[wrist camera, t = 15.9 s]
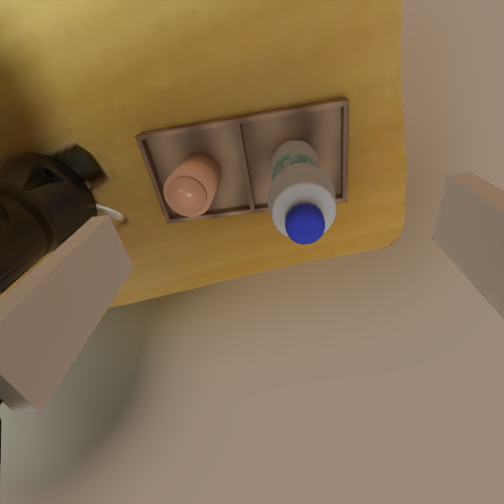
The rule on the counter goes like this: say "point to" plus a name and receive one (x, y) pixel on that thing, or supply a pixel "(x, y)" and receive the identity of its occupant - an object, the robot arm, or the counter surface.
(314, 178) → the bottle
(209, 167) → the jar
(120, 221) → the counter surface
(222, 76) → the counter surface
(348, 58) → the counter surface
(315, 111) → the caddy
